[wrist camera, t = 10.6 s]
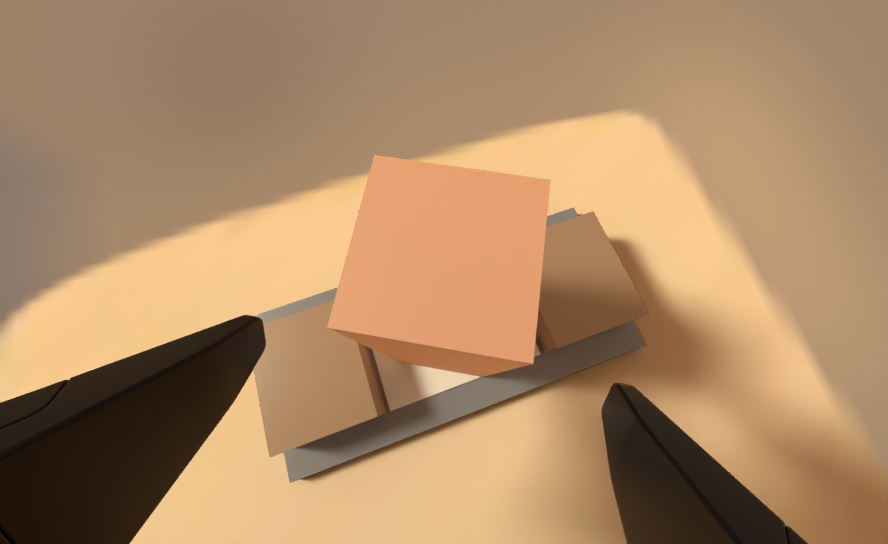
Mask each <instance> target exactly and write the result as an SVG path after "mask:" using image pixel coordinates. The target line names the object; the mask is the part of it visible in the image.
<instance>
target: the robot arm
mask: <svg viewBox="0 0 888 544" xmlns="http://www.w3.org/2000/svg"><path fill="white" fill-rule="evenodd" d="M265 347H266V339H265V332H264V325H263V321H262V319H261V318H260V317H256V316H250V315H243V316H240V317H237V318H234V319H232V320H229V321H226V322H223V323H221V324H218V325H215V326H212V327H210V328H207V329H204V330H201V331H199V332H196V333H193V334H190V335H188V336H185V337H182V338H179V339H177V340H174V341H171V342H168V343H166V344H163V345H160V346H157V347H155V348H152V349H149V350H146V351H144V352H141V353H138V354H135V355H133V356H130V357H127V358H124V359H121V360H119V361H116V362H113V363H110V364H108V365H105V366H102V367H99V368H97V369H94V370H91V371H88V372H86V373H83V374H80V375H77V376H75V377H72V378H70V380H63V381H61V382H58V383H55V384H52V385H50V386H47V387H44V388H41V389H39V390H36V391H33V392H30V393H27V394H24V395H21V396H19V397H16V398H13V399H10V400H7V401H4V402H1V403H0V544H130V542H131V541H132V540H133V538H134V537H135V535H136V534H137V533H138V531H139V530H140V529H141V527H142V526H143V525H144V523H145V522H146V521H147V519H148V518H149V516H150V515H151V514H152V512H153V511H154V510H155V508H156V507H157V506H158V504H159V503H160V502H161V500H162V499H163V498H164V496H165V495H166V493H167V492H168V491H169V489H170V488H171V487H172V485H173V484H174V483H175V481H176V480H177V479H178V477H179V476H180V474H181V473H182V472H183V470H184V469H185V468H186V466H187V465H188V464H189V462H190V461H191V460H192V458H193V457H194V455H195V454H196V453H197V451H198V450H199V449H200V447H201V446H202V445H203V443H204V442H205V441H206V439H207V438H208V436H209V435H210V434H211V432H212V431H213V430H214V428H215V427H216V426H217V424H218V423H219V422H220V420H221V419H222V417H223V416H224V415H225V413H226V412H227V411H228V409H229V408H230V406H231V405H232V404H233V402H234V401H235V399H236V397H237V396H238V394H239V393H240V391H241V389H242V388H243V386H244V384H245V382H246V381H247V379H248V377H249V376H250V374H251V372H252V371H253V369H254V367H255V366H256V364H257V362H258V361H259V359H260V357H261V356H262V354H263V352H264V350H265ZM602 421H603V428H604V435H605V442H606V449H607V456H608V463H609V470H610V475H611V481H612V485H613V489H614V493H615V497H616V501H617V505H618V509H619V513H620V517H621V521H622V525H623V529H624V533H625V537H626V541H627V544H808V543H807V542H806V541H804V540H803V539H802V538H801V537H800V536H799V535H798V534H797V533H796V532H795V531H793V530H792V529H791V528H790V527H788V526H785V523H784V522H783V521H782V520H781V519H780V518H779V517H778V516H777V515H776V514H774V513H773V512H772V511H771V510H770V509H769V508H768V507H767V506H766V505H764V504H763V503H762V502H761V501H760V500H759V499H758V498H757V497H756V496H755V495H753V494H752V493H751V492H750V491H749V490H748V489H747V488H746V487H745V486H743V485H742V484H741V483H740V482H739V481H738V480H737V479H736V478H735V477H734V476H732V475H731V474H730V473H729V472H728V471H727V470H726V469H725V468H724V467H722V466H721V465H720V464H719V463H718V462H717V461H716V460H715V459H714V458H712V457H711V456H710V455H709V454H708V453H707V452H706V451H705V450H704V449H703V448H701V447H700V446H699V445H698V444H697V443H696V442H695V441H694V440H693V439H691V438H690V437H689V436H688V435H687V434H686V433H685V432H684V431H683V430H682V429H680V428H679V427H678V426H677V425H676V424H675V423H674V422H673V421H672V420H670V419H669V418H668V417H667V416H666V415H665V414H664V413H663V412H662V411H661V410H659V409H658V408H657V407H656V406H655V405H654V404H653V403H652V402H651V401H649V400H648V399H647V398H646V397H645V396H644V395H643V394H642V393H641V392H639V391H638V390H637V389H636V388H635V387H634V386H632V385H628V384H622V383H614V384H613V385H612V387H611V389H610V391H609V393H608V396H607V398H606V400H605V402H604V404H603V407H602Z"/></svg>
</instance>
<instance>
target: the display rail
mask: <svg viewBox="0 0 888 544" xmlns="http://www.w3.org/2000/svg"><path fill="white" fill-rule="evenodd" d="M337 289H338V288H335V289H332V290H329V291H326V292H323V293H320V294H317V295H314V296H311V297H308V298H305V299H302V300H300V301H297V302H294V303H291V304H288V305H285V306H282V307H279V308H276V309H273V310H270V311H267V312H264V313H261V314H258V315H257V316H258V317H260V318H261V319H262V321H263V325H264V332H265V339H266V347H265V350H264V352H263V354H262V356H261V357H260V359H259V361H258V362H257V364H256V366H255V367H254V374H255V380H256V385H257V391H258V396H259V402H260V407H261V413H262V418H263V424H264V429H265V435H266V440H267V446H268V451H269V457H272V456H275V455H278V454H280V453H283V452H284V455H285V460H286V465H287V471H288V476H289V481H290V483H291V482H294V481H297V480H299V479H302V478H304V477H307V476H309V475H312V474H315V473H317V472H320V471H322V470H325V469H328V468H330V467H333V466H335V465H338V464H340V463H343V462H346V461H348V460H351V459H353V458H356V457H358V456H361V455H364V454H366V453H369V452H371V451H374V450H377V449H379V448H382V447H384V446H387V445H389V444H392V443H395V442H397V441H400V440H402V439H405V438H407V437H410V436H413V435H415V434H418V433H420V432H423V431H426V430H428V429H431V428H433V427H436V426H438V425H441V424H444V423H446V422H449V421H451V420H454V419H457V418H459V417H462V416H464V415H467V414H469V413H472V412H475V411H477V410H480V409H482V408H485V407H487V406H490V405H493V404H495V403H498V402H500V401H503V400H506V399H508V398H511V397H513V396H516V395H518V394H521V393H524V392H526V391H529V390H531V389H534V388H536V387H539V386H542V385H544V384H547V383H549V382H552V381H555V380H557V379H560V378H562V377H565V376H567V375H570V374H573V373H575V372H578V371H580V370H583V369H586V368H588V367H591V366H593V365H596V364H598V363H601V362H604V361H606V360H609V359H611V358H614V357H616V356H619V355H622V354H624V353H627V352H629V351H632V350H635V349H637V348H640V347H642V346H645V345H646V343H645V341H644V339H643V337H642V335H641V333H640V331H639V330H638V328H637V326H636V324H635V322H634V319H637V318H639V317H642V316H645V315H647V314H649V312H648V310H647V308H646V307H645V305H644V303H643V301H642V299H641V297H640V296H639V294H638V292H637V290H636V288H635V286H634V285H633V283H632V281H631V279H630V277H629V276H628V274H627V272H626V270H625V268H624V266H623V265H622V263H621V261H620V259H619V257H618V255H617V254H616V252H615V250H614V248H613V246H612V245H611V243H610V241H609V239H608V237H607V235H606V234H605V232H604V230H603V228H602V226H601V225H600V223H599V221H598V219H597V217H596V215H595V214H594V212H590V213H587V214H584V215H581V216H578V215H577V213H576V211H575V209H574V208H571V209H568V210H565V211H562V212H559V213H556V214H553V215H550V216H547V222H546V232H545V243H544V254H543V265H542V276H541V286H540V297H539V308H538V319H537V329H536V340H535V351H534V362H533V364H531V365H527V366H523V367H519V368H515V369H511V370H507V371H503V372H500V373H496V374H492V375H488V376H484V377H479V376H473V375H468V374H462V373H457V372H451V371H446V370H440V369H435V368H429V367H423V366H418V365H412V364H407V363H401V362H398V361H396V360H394V359H392V358H390V357H388V356H386V355H383V354H381V353H379V352H377V351H375V350H373V349H371V348H369V347H367V346H365V345H362V344H360V343H358V342H356V341H354V340H352V339H350V338H348V337H346V336H343V335H341V334H339V333H337V332H335V331H333V330H331V329H329V328H327V326H328V322H329V318H330V315H331V311H332V307H333V304H334V300H335V297H336V293H337Z"/></svg>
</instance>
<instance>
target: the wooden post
mask: <svg viewBox="0 0 888 544" xmlns="http://www.w3.org/2000/svg"><path fill="white" fill-rule="evenodd" d="M549 189H550V180H547V179H540V178H533V177H526V176H519V175H512V174H504V173H497V172H490V171H483V170H476V169H469V168H462V167H455V166H448V165H441V164H434V163H427V162H420V161H413V160H406V159H398V158H391V157H384V156H377V155H375V156H374V159H373V163H372V166H371V170H370V173H369V177H368V181H367V184H366V188H365V192H364V195H363V199H362V202H361V206H360V210H359V213H358V217H357V220H356V224H355V228H354V231H353V235H352V239H351V242H350V246H349V249H348V253H347V257H346V260H345V264H344V268H343V271H342V275H341V278H340V282H339V286H338V289H337V293H336V297H335V300H334V304H333V307H332V311H331V315H330V318H329V322H328V326H327V328H329V329H331V330H333V331H335V332H337V333H339V334H341V335H343V336H346V337H348V338H350V339H352V340H354V341H356V342H358V343H360V344H362V345H365V346H367V347H369V348H371V349H373V350H375V351H377V352H379V353H381V354H383V355H386V356H388V357H390V358H392V359H394V360H396V361H398V362H401V363H407V364H412V365H418V366H423V367H429V368H435V369H440V370H446V371H451V372H457V373H462V374H468V375H473V376H479V377H484V376H488V375H492V374H496V373H500V372H503V371H507V370H511V369H515V368H519V367H523V366H527V365H531V364H533V362H534V351H535V340H536V329H537V319H538V308H539V297H540V286H541V276H542V265H543V254H544V243H545V232H546V222H547V211H548V200H549Z"/></svg>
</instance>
